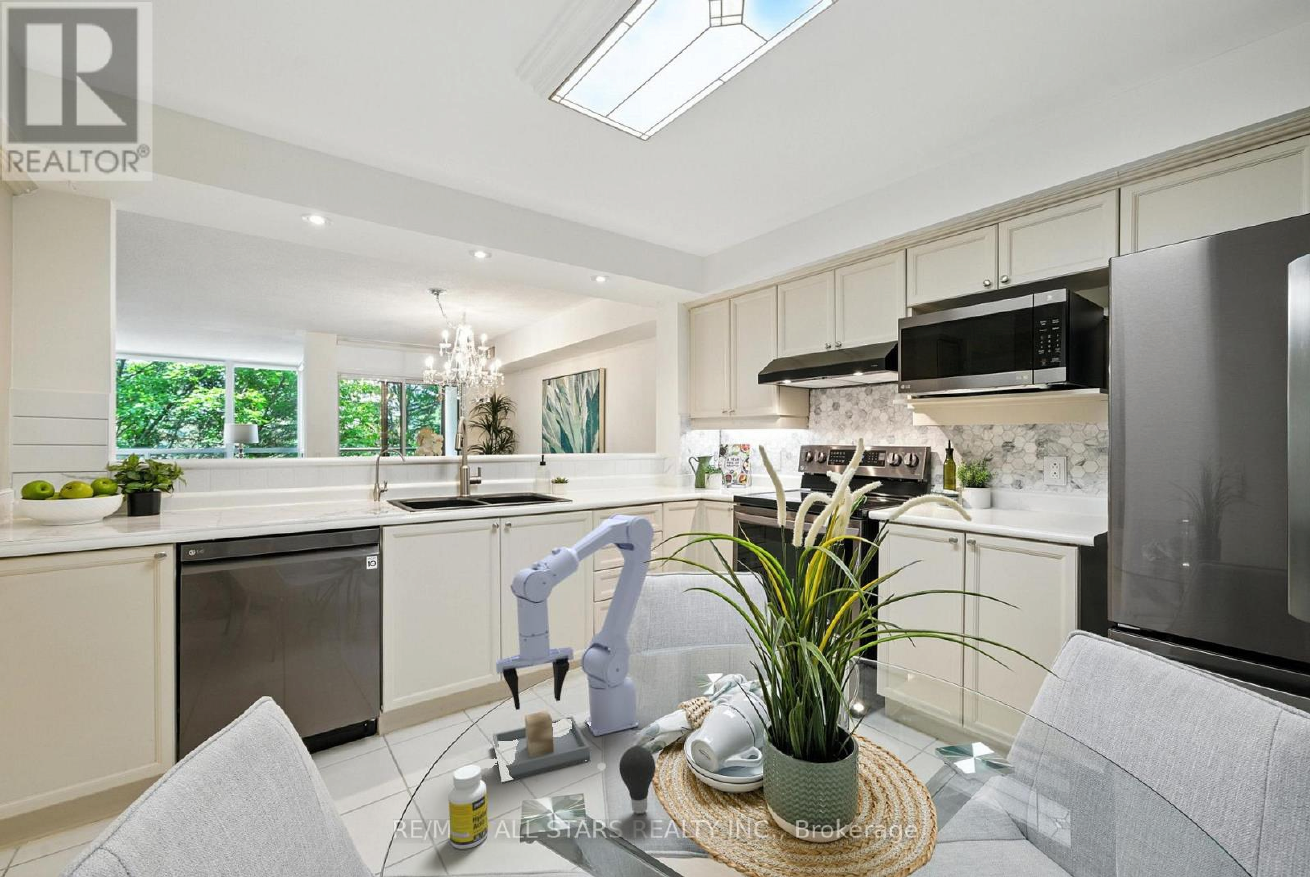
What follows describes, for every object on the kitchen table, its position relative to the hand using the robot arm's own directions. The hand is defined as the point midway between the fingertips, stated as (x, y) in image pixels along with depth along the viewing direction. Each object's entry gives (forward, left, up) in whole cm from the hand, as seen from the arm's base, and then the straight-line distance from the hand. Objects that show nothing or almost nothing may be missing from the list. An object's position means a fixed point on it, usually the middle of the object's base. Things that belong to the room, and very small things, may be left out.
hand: (537, 703), depth 110 cm
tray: (0, 0, -9) cm, 9 cm away
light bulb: (-11, +26, -10) cm, 30 cm away
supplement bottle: (+14, +20, -10) cm, 26 cm away
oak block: (0, 0, -9) cm, 9 cm away
